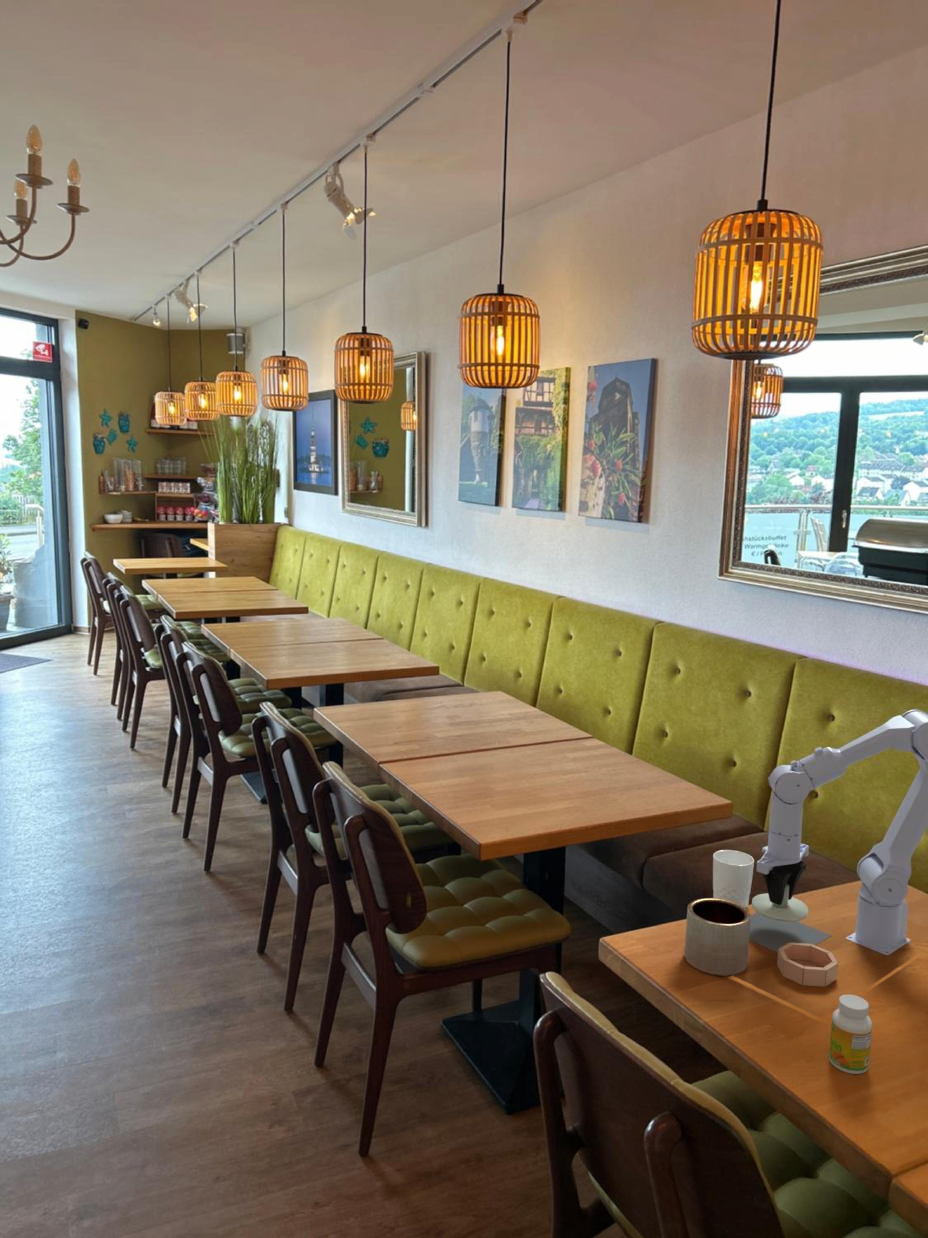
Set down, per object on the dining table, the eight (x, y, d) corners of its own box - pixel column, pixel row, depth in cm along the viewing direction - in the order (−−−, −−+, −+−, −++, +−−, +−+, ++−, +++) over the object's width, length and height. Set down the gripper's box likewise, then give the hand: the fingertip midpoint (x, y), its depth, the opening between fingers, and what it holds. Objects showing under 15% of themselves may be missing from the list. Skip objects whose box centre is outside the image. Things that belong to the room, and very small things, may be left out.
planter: (724, 943, 167) (727, 894, 166) (760, 973, 157) (764, 921, 155) (672, 951, 164) (675, 901, 162) (706, 982, 153) (709, 929, 152)
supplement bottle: (821, 1053, 134) (826, 992, 133) (856, 1052, 135) (861, 991, 134) (839, 1076, 129) (845, 1013, 128) (875, 1075, 130) (881, 1012, 128)
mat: (765, 911, 180) (765, 908, 180) (831, 938, 170) (831, 935, 169) (723, 931, 171) (724, 928, 171) (791, 962, 161) (791, 958, 161)
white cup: (752, 915, 178) (756, 867, 177) (711, 911, 180) (714, 863, 178) (748, 898, 186) (751, 852, 185) (709, 894, 188) (712, 848, 186)
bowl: (796, 956, 163) (797, 938, 162) (844, 977, 156) (845, 958, 155) (768, 972, 157) (769, 953, 156) (816, 995, 150) (818, 975, 150)
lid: (770, 892, 177) (771, 869, 176) (818, 911, 169) (820, 887, 169) (741, 907, 170) (742, 882, 170) (790, 927, 163) (792, 901, 162)
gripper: (786, 816, 175) (782, 883, 177) (743, 833, 166) (739, 903, 168) (820, 826, 170) (816, 895, 172) (778, 845, 161) (773, 917, 163)
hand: (780, 900), depth 169 cm, fingers closed on lid, 3 cm apart
